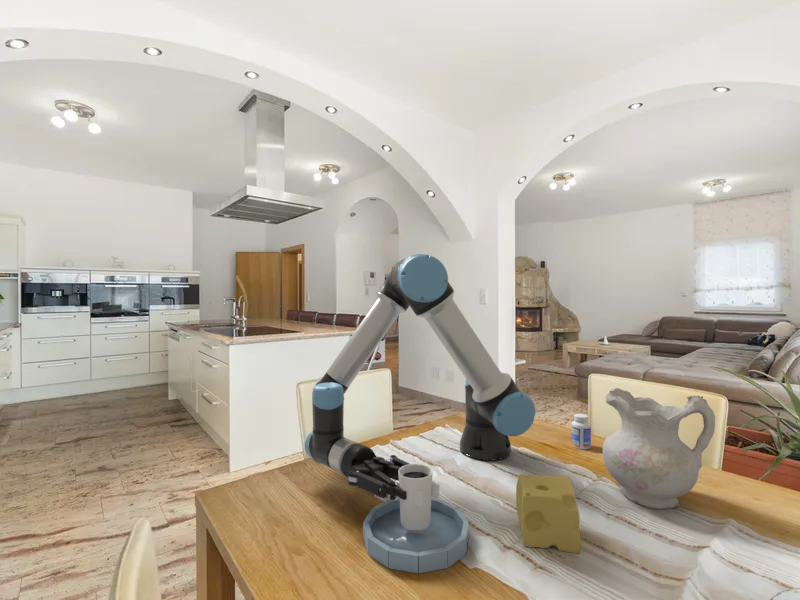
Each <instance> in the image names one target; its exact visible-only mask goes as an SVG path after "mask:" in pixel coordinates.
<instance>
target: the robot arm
mask: <svg viewBox="0 0 800 600" xmlns="http://www.w3.org/2000/svg"><path fill="white" fill-rule="evenodd" d="M454 295H455V290H454V288H453V287H452V285H451V283H450V282H449V275H448V271H447V269H446V266H445V265H444V264H443V263H442V261H441V260H439V259H438V258H437V257H435V256H433V255H429V254H423V253H418V254H412V255H410V256H409V257H406V258H404V259H402V260H400V261H398V262H396V263H395V264H394V266H393V267H392V269H391V270H390V272H389V274H388V275H387V278H386V279H385V280H384V282H383V284H382V286H380V288H379V290H378V291H377V299H376V301H375V302H374V303H373V305H372V307H371V308H370V309H369V311H368V312H367V313H366V315H365V316H364V317H363V319H362V321H361V322H360V323H359V325H358V326H357V327H356V329H355V330H354V332H353V333H352V335H351V336H350V337H349V339H348V341H347V342H346V343H345V345H344V346H343V347H342V349H341V350H340V352H339V353H338V355H337V356H336V358H335V359H334V360H333V362H332V363H331V364H330V366H329V367H328V369H327V371H326V372H325V373H324V375H323V376H322V378H321V379H320V380H318V381H317V382H316V383H315V385H314V386H313V388H312V393H311V394H312V395H311V402H312V430H311V431H310V432H309V433H308V435H307V436H306V439H305V441H304V450H305V453H306V455H307V456H308V457H309V458H310V459H312V460H314V461H315V462H316V463H318V464H321V465H324V466H326V467H328V468H330V469H331V470H334V471H335V472H338V473H339V474H341V475H343V476H345V477H347V478H348V485H349V486H353V487H356V488H357V487H358V488H359V489H362V490H364V491H365V492H368V493H370V494H372V495H373V496H377V497H378V498H381V499H386V498H387V496H389V499H390V500H395V498H401V499H404V500H405V499H407V494H406V491H403V490H402V489H401V488H400V487H399V475H398V470H399V469H400V468H401V467H402V466H404V465H408V464H411V463H409V462H407V461H404V460H403V459H401V458H398V456H397V455H396V454H391V455H390V458H388V459H385V458H384V457H381V456H380V457H379V456H377V455H376V453H375V451H373V449H372V448H370V447H368V446H366V445H363V444H362V443H359V442H357V441H354V440H351V439H349V438H346V437H344V430H345V429H344V427H345V426H344V410H345V408H344V406H345V405H344V401H345V394H346V392H347V391H348V389H349V388H350V386H351V385H352V383H353V381H354V380H355V379H356V378H357V376H358V375H359V373H360V371H361V370H362V369H363V367H364V366H365V364H366V363H367V361H369V359H370V357H371V355H372V354H373V353H374V351H375V350H376V348H377V347H378V345H379V344H380V343H381V341H382V339H383V338H384V337H385V335H386V334H387V333H388V331H389V330H390V328H391V327H392V326H393V324H394V322H395V321H396V320H397V318H398V317H399V315H400V314H404V313H406V312H407V310H408V309H409V308H410V309H412V311H413V313H414V314H415V316H416V317H421V318H424V319H425V320H426V322H427V323H428V324H429V326H430V327H431V329H432V330H433V332H434V333H435V335H436V337H437V338H438V339H439V341H440V342H441V343H442V345H443V347H444V348H445V349H446V351H447V352H448V353H449V355H450V357H451V359H452V360H453V361H454V363H455V364H456V366H457V367H458V369H459V370H460V372H461V373H462V375H463V376H464V378H465V384H464V390H465V391H464V393H465V396H464V397H465V425H464V428H463V431H462V435H461V437H460V440H459V451H460V452H461V453H462V454H463V453H465V454H468V455H470V456H472V457H473V458H472V459H475V458H477V459H476V460H480V459H483V461H493V460H492V459H500V458H504V457H507V456H508V457H510V456H509V455H511V454H512V444H511V441H510V438H509V437H518V436H521V435H523V434H525V433H526V432H527V431H528V430H529V429H530V428H531V426H532V425H533V424H534V421H535V417H536V412H537V411H536V405H535V403H534V401H533V400H532V398H531V397H530V396H529V395H528V394H527V393H525V392H522V391H521V390H520V388H519V387H518V385H517V384H516V383H515V381H514V380H513V378H512V376H511V375H510V373H506V372H501V370H500V368H499V367H498V366H497V364H496V362H495V361H494V359H493V358H492V356H491V355H490V354H489V352H488V350H487V349H486V348H485V346H484V344H483V343H482V341H481V339H480V338H479V337H478V335H477V334H476V332H475V331H474V329H473V327H472V326H471V325H470V324H469V322H468V320H467V318H466V317H465V316H464V314H463V312H462V311H461V310H460V308H459V307H458V305H457V304H456V302H455V300H454ZM510 453H511V454H510ZM508 457H507V458H508ZM504 459H505V458H504ZM500 460H501V459H500ZM394 480H395V481H394ZM440 490H441V489H440V483H438V482H436V481H433V480H432V489H431V498H435V499H440ZM413 504H415V505H417V506H419V507H421V508H423V507H424V492H423V491H421V490H414V493H413Z"/></svg>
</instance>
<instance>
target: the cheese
mask: <svg viewBox="0 0 800 600" xmlns="http://www.w3.org/2000/svg"><path fill="white" fill-rule="evenodd" d="M515 489H516V491H515V492H516V493H515V501H516V502H515V503H516V505H515V506H516V513H517V517H518V523H519V526H520V530H521V536H522V537H521V538H522V542H523V543H522V544H523V546H524V547H525V546H530V547H529V548H534V547H540V548H539V549H549V548H550V547H555V548H556V549H557V550H558V551H562V552H568V553H573V554H580V552H581V548H582V539H581V538H582V537H581V534H580V514H579V509H578V504H577V497H576V493H575V490H574V488H573V484H572V481H571V478H569V476H566V475H563V476H562V475H555V476H554V475H553V476H552V475H534V474H523V473H522V474H521V473H519V474H518V477H517V482H516V487H515Z"/></svg>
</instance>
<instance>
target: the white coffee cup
mask: <svg viewBox="0 0 800 600" xmlns="http://www.w3.org/2000/svg"><path fill="white" fill-rule="evenodd" d="M398 475H399V487H400V488H401V489H402V490H403V491H406V494H407V499H405V500H404V499H401V498H400V515H401V524H402V525H403V526H404V527H405V528H407V529H409V530H422V529H425V528H427V527H428V526H429V525H430V517H431V498H432V497H431V489H432V481H433V470H432V468H431V467H429V466H427V465H425V464H422V463H421V464H420V463H410V464H408V465H404V466H402V467H401V468H400V469H399V470H398ZM414 490H421V491H423V492H424V507H423V508H421V507H419V506H417V505H415V504H413V493H414Z"/></svg>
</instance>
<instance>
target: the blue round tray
mask: <svg viewBox="0 0 800 600" xmlns="http://www.w3.org/2000/svg"><path fill="white" fill-rule="evenodd" d="M468 537H469V538H470V522H469V520H468V519H467V517H466V516H465V515H464V514H463V512H462V511H461V510H460V509H459V507H457V506H456V505H453V504H451V503H449V502H446V501H444V500H442V499H440V498H439V499H435V498H433V497H431V517H430V525H429V526H428V527H427V528H425V529H422V530H409V529H407V528H405V527H404V526H403V525H402V524H401V515H400V498H399V497H395V500H390V498H389V499H388V500H386V501H383V502H382V503H380V504H377V505H376V506H374V507H371V509H370V510H369V512H368V513H367V515H366V517H365V519H364V520H363V521H362V538H363V542H364V546H365V549H366V552H367V555H369V556H370V557H372V558H373V559H374V560H376V561H377V562H378V563H380V564H381V565H382V566H384V567H385V568H387V569H391V570H396V571H400V572H401V571H402V572H408V573H413V574H424V573H429V572H435V571H440V570H443V569H444V570H445V569H448V568H450V567H451V566H452V565H453V564H455V563H456V562H458V561H459V560H460V559H462V558H463V557H464V556H465V555H467V552H468V551H467V550H468V545H467V542H468V543H469V539H468Z"/></svg>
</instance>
